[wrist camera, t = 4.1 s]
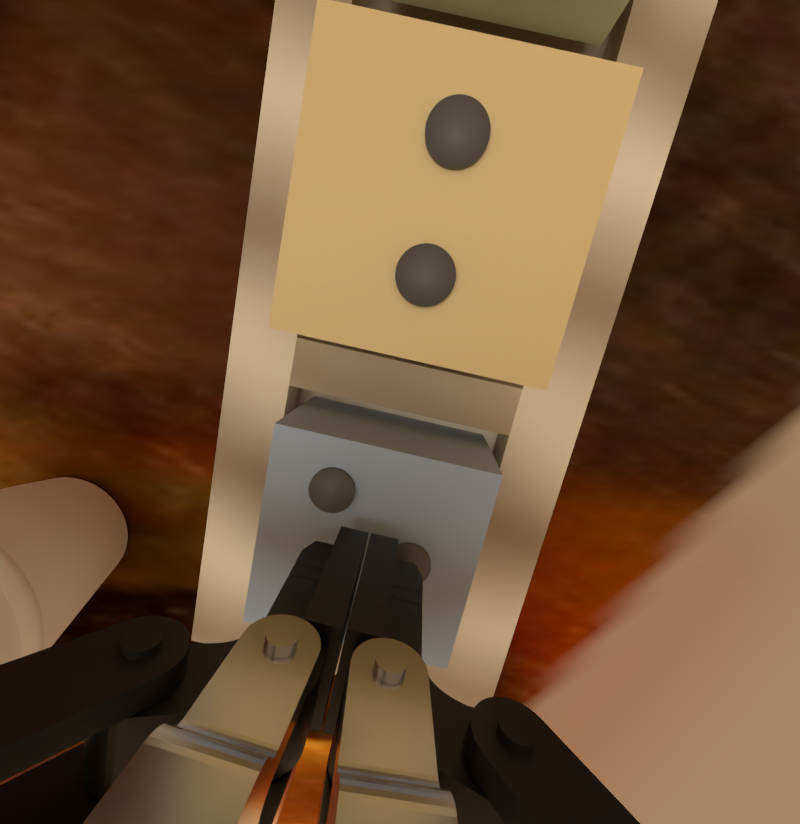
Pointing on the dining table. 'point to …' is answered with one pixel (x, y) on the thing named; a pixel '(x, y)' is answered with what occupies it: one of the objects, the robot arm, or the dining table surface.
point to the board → (424, 383)
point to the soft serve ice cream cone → (52, 558)
